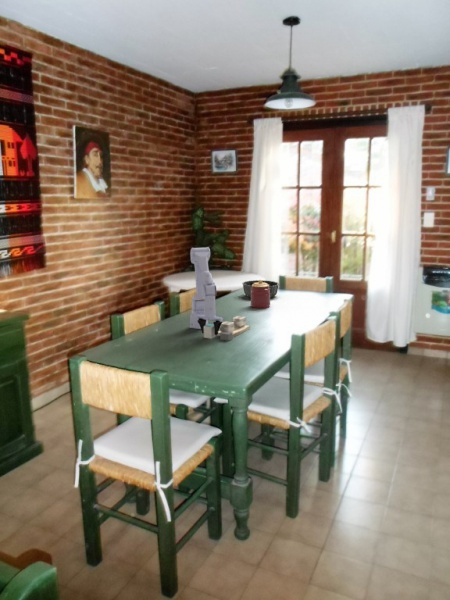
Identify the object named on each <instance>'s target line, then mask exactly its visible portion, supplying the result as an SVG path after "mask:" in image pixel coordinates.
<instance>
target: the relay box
mask: <svg viewBox="0 0 450 600" xmlns="http://www.w3.org/2000/svg"><path fill="white" fill-rule="evenodd" d="M219 340H220V341H226V342H229V341H231V340H233V338H232V332H225V331H224V332H221V333H220V336H219Z"/></svg>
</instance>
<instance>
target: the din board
mask: <svg viewBox="0 0 450 600" xmlns="http://www.w3.org/2000/svg"><path fill="white" fill-rule="evenodd" d="M246 317H247V316H240V315H236V316H234V317H233V318H231V321H222V324H221V326H220V328H219V332H218V335H217V336H218V337H220V333H221V332H224V331H225V332H232V339H233V338H235V337H237V336H239V335H240V334H242V333H244V332H246V331H248V330H250V329H251V326H250V325H246V324H247V318H246Z"/></svg>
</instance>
